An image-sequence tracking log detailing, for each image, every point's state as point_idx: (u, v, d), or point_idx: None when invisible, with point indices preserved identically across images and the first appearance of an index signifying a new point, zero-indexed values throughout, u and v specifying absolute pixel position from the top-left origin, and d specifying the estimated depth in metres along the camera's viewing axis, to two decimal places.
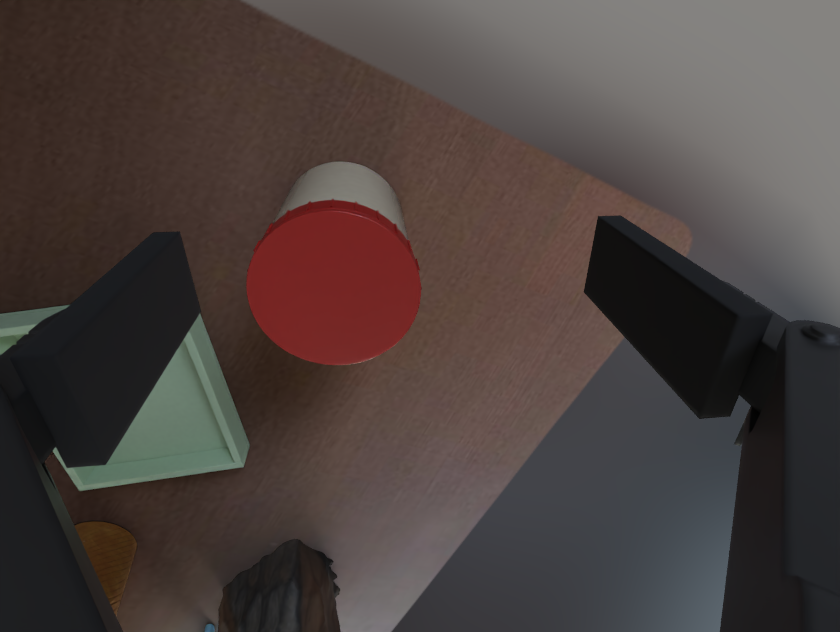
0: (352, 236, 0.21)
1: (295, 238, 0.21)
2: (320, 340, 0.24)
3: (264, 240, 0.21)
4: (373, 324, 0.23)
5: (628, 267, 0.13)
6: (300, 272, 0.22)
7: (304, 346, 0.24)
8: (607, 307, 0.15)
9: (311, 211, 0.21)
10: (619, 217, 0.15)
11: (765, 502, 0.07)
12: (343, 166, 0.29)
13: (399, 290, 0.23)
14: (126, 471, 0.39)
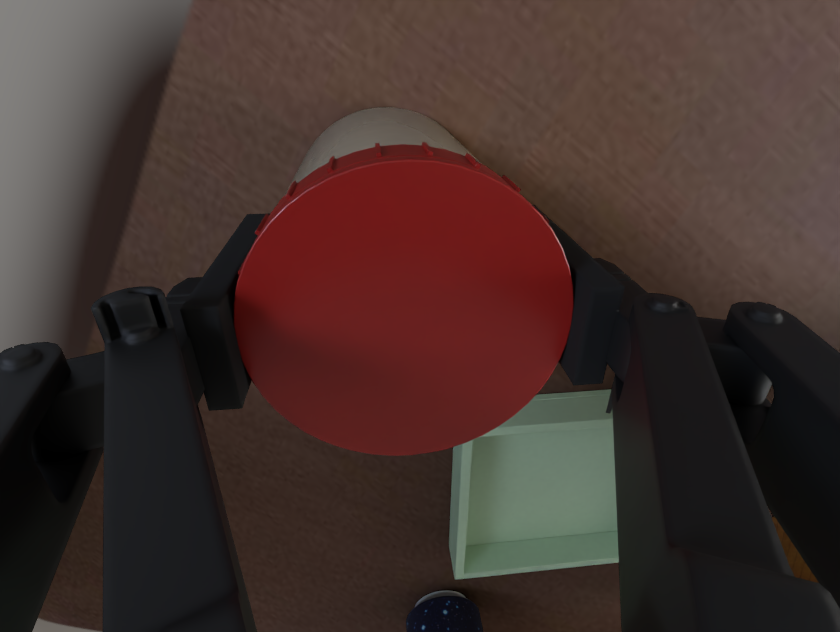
0: (285, 292, 0.11)
1: (289, 382, 0.12)
2: (502, 367, 0.12)
3: (293, 423, 0.12)
4: (490, 271, 0.11)
5: None
6: (356, 382, 0.12)
7: (507, 392, 0.13)
8: None
9: None
10: None
11: (641, 472, 0.07)
12: None
13: (416, 211, 0.10)
14: None
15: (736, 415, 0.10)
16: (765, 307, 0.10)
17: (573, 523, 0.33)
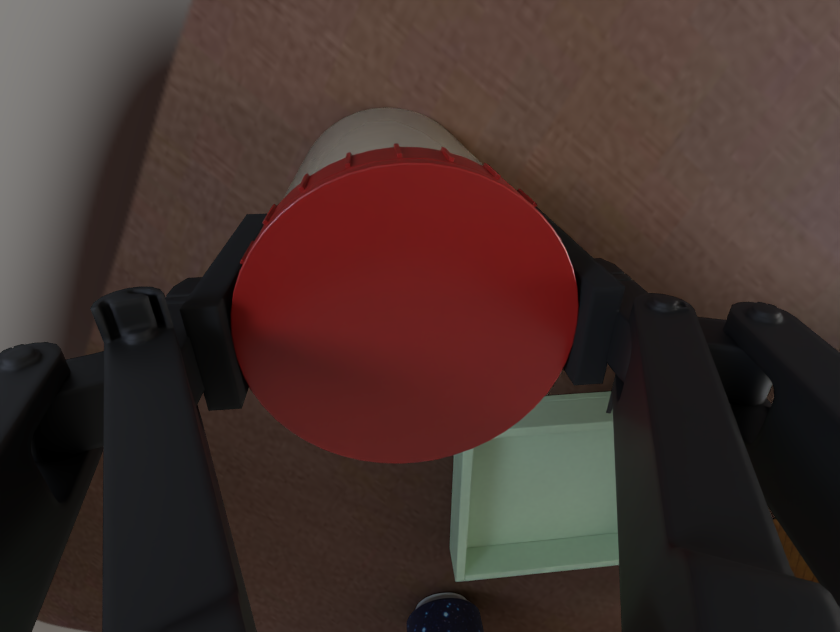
0: (382, 435, 0.13)
1: (475, 423, 0.13)
2: (446, 235, 0.10)
3: (524, 415, 0.13)
4: (326, 282, 0.10)
5: None
6: (473, 374, 0.12)
7: (485, 217, 0.10)
8: None
9: None
10: None
11: (641, 472, 0.07)
12: None
13: (282, 358, 0.11)
14: None
15: (736, 415, 0.10)
16: (766, 307, 0.10)
17: (574, 525, 0.33)
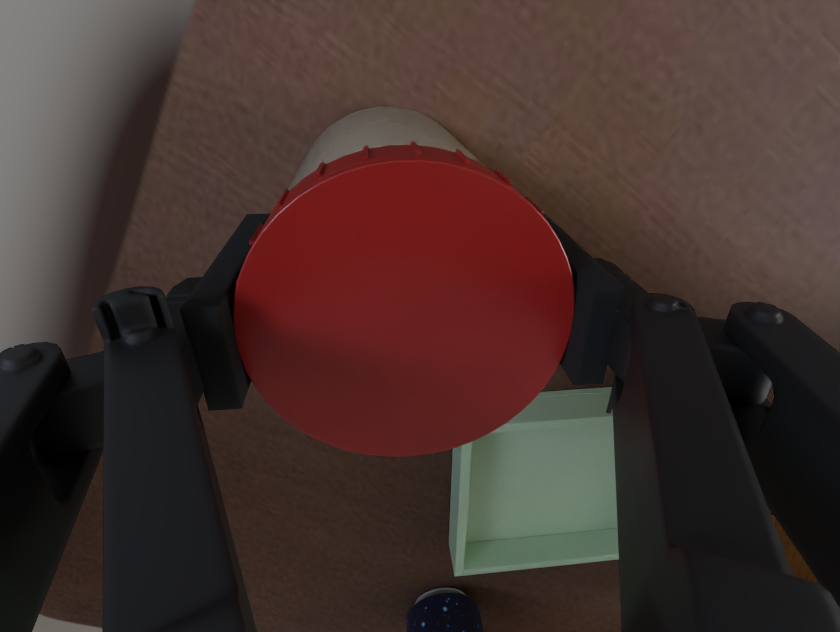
0: (531, 337, 0.12)
1: (518, 246, 0.11)
2: (295, 327, 0.11)
3: (507, 188, 0.10)
4: (361, 404, 0.12)
5: None
6: (447, 266, 0.11)
7: (269, 300, 0.11)
8: None
9: None
10: None
11: (641, 471, 0.07)
12: None
13: (440, 424, 0.13)
14: None
15: (736, 415, 0.10)
16: (765, 307, 0.10)
17: (572, 520, 0.33)
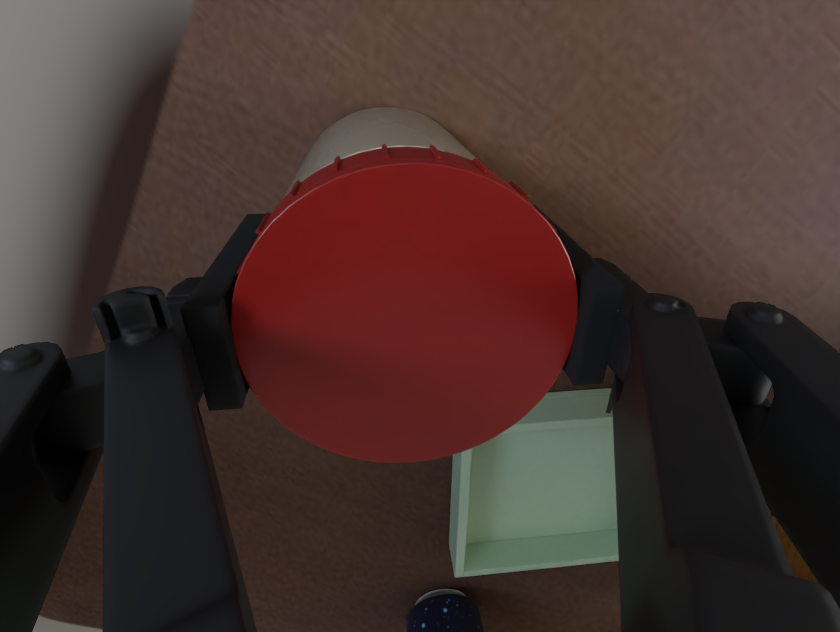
0: (399, 214, 0.10)
1: (291, 263, 0.10)
2: (414, 425, 0.13)
3: (236, 289, 0.10)
4: (500, 366, 0.12)
5: None
6: (329, 323, 0.11)
7: (390, 443, 0.13)
8: None
9: (298, 196, 0.10)
10: None
11: (641, 471, 0.07)
12: None
13: (530, 286, 0.11)
14: None
15: (736, 415, 0.10)
16: (765, 307, 0.10)
17: (573, 521, 0.33)
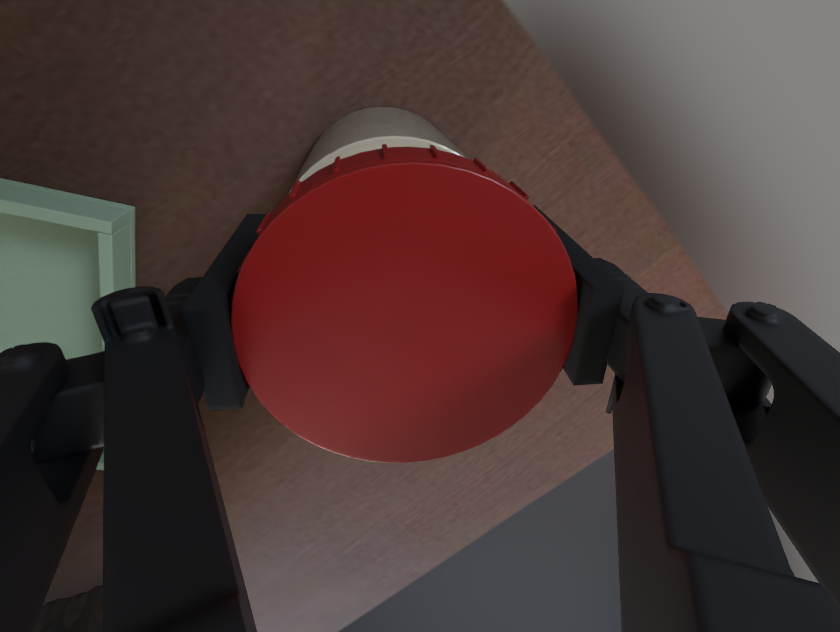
0: (399, 214, 0.10)
1: (291, 262, 0.10)
2: (414, 424, 0.13)
3: (236, 289, 0.10)
4: (500, 366, 0.12)
5: None
6: (329, 323, 0.11)
7: (390, 443, 0.13)
8: None
9: (299, 195, 0.10)
10: None
11: (641, 472, 0.07)
12: (422, 119, 0.21)
13: (530, 286, 0.11)
14: None
15: (736, 415, 0.10)
16: (765, 307, 0.10)
17: None
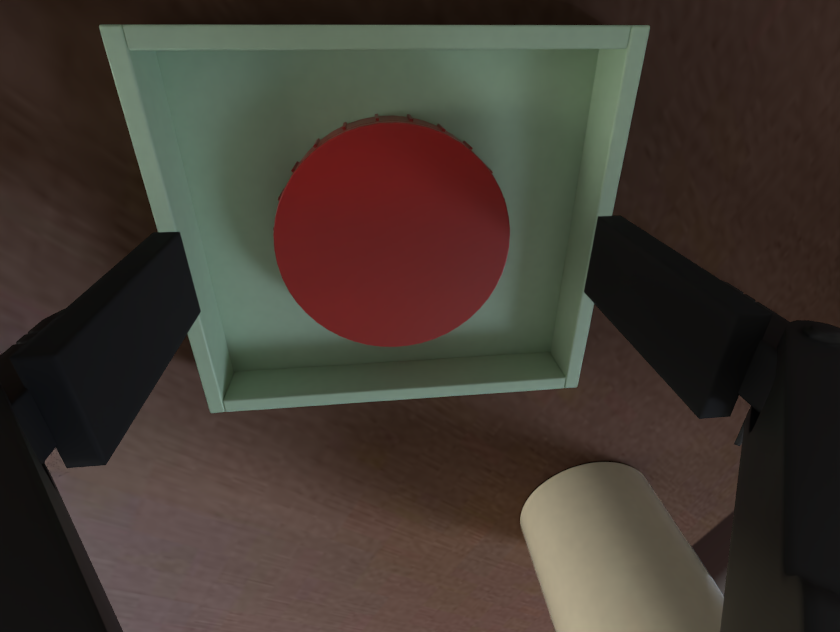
0: (386, 157, 0.15)
1: (314, 190, 0.15)
2: (398, 315, 0.18)
3: (278, 209, 0.15)
4: (457, 270, 0.17)
5: (628, 267, 0.13)
6: (339, 235, 0.16)
7: (382, 330, 0.18)
8: (607, 307, 0.15)
9: (320, 145, 0.15)
10: (619, 217, 0.15)
11: (765, 502, 0.07)
12: None
13: (475, 210, 0.16)
14: (169, 160, 0.15)
15: None
16: None
17: (355, 93, 0.15)
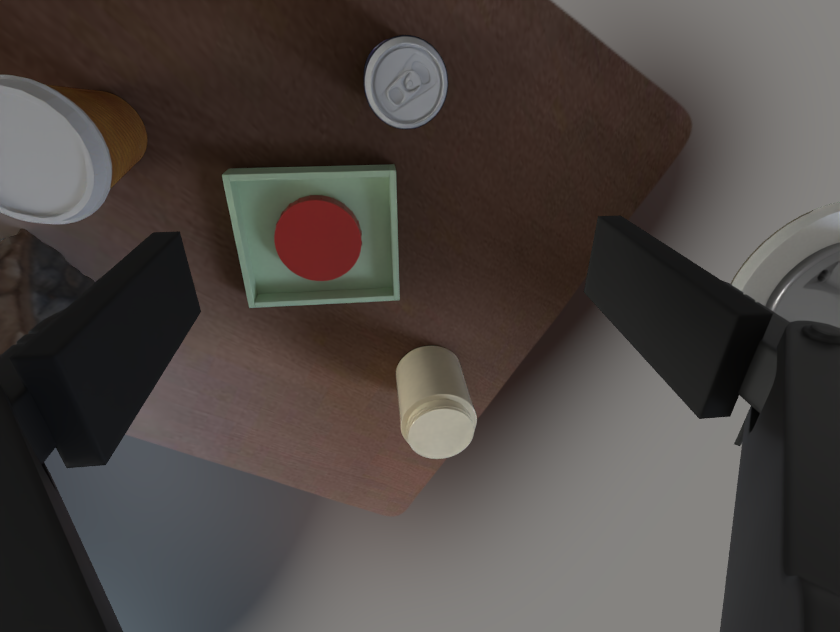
0: (312, 211, 0.44)
1: (288, 222, 0.44)
2: (322, 268, 0.46)
3: (275, 228, 0.44)
4: (342, 250, 0.46)
5: (628, 267, 0.13)
6: (297, 237, 0.45)
7: (316, 274, 0.47)
8: (607, 307, 0.15)
9: (290, 207, 0.43)
10: (619, 217, 0.15)
11: (765, 502, 0.07)
12: None
13: (346, 228, 0.45)
14: (238, 212, 0.43)
15: None
16: None
17: (303, 187, 0.44)
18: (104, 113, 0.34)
